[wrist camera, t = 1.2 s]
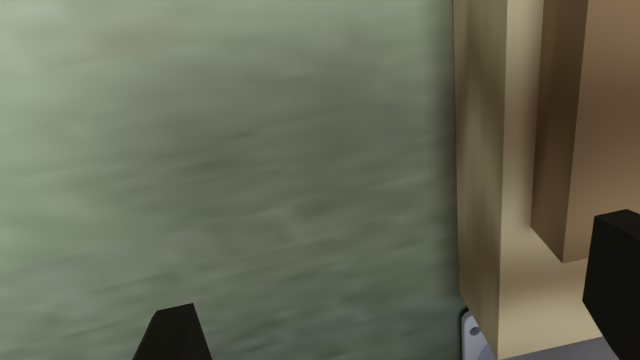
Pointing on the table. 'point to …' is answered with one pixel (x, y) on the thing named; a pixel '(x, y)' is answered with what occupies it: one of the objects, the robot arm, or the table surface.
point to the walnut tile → (586, 121)
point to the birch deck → (507, 186)
